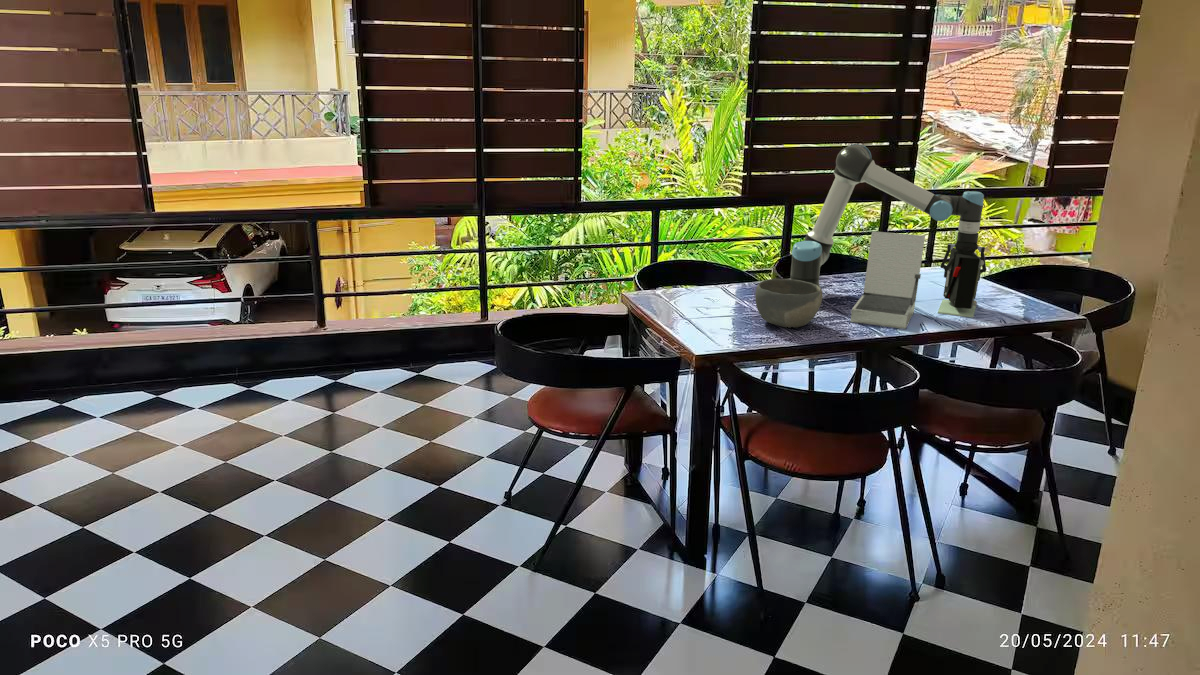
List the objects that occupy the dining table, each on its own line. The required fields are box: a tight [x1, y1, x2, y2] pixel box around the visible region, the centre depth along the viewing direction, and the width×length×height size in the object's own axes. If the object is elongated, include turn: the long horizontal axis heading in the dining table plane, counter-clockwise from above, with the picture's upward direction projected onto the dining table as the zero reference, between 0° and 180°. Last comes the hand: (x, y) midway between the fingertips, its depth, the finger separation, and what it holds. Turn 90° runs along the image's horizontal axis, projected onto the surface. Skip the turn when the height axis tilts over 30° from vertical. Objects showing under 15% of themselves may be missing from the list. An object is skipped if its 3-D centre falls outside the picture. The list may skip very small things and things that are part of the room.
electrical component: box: [942, 247, 984, 309], centre depth 335 cm, size 18×10×20 cm, turn 168°
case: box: [850, 230, 926, 330], centre depth 325 cm, size 20×31×30 cm, turn 154°
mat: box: [937, 298, 977, 318], centre depth 339 cm, size 13×21×1 cm, turn 154°
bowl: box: [754, 278, 823, 329], centre depth 315 cm, size 24×24×15 cm
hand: (960, 287), depth 336 cm, fingers open, 9 cm apart
